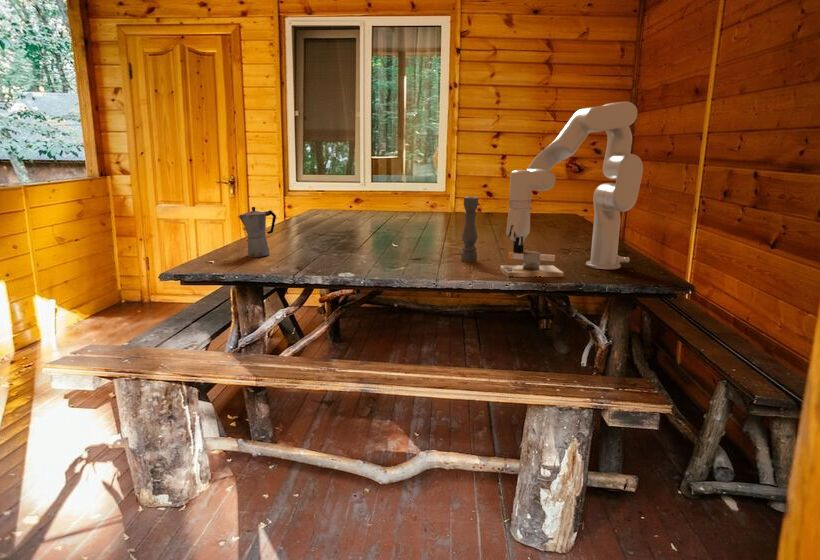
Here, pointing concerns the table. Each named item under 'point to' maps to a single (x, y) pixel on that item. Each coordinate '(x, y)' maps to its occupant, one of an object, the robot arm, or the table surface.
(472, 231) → the candle holder
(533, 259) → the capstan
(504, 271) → the stand
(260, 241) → the moka pot
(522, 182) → the robot arm
